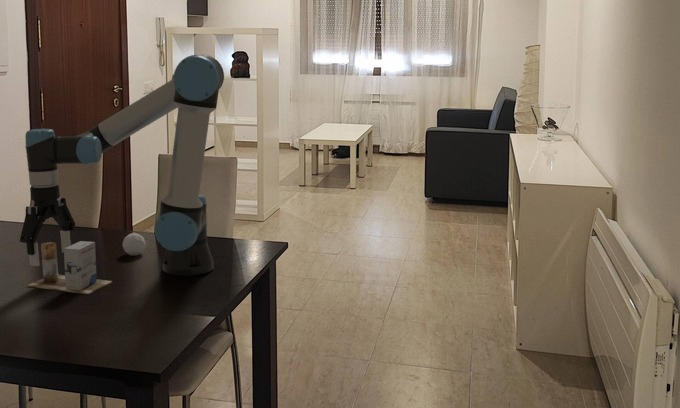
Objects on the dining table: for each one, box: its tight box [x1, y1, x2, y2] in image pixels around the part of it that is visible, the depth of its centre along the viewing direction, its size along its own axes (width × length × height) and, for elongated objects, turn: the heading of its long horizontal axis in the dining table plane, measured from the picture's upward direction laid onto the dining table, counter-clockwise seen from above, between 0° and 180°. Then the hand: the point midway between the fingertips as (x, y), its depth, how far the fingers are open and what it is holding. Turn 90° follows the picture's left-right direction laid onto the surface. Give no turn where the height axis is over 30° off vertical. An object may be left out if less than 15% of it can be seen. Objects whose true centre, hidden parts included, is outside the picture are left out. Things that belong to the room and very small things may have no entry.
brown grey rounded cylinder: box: [40, 241, 59, 284], centre depth 209 cm, size 4×4×11 cm
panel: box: [27, 274, 113, 295], centre depth 209 cm, size 20×11×1 cm, turn 73°
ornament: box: [122, 231, 147, 256], centre depth 239 cm, size 7×7×8 cm
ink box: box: [63, 240, 97, 290], centre depth 206 cm, size 9×5×12 cm, turn 167°
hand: (51, 258), depth 209 cm, fingers open, 13 cm apart
